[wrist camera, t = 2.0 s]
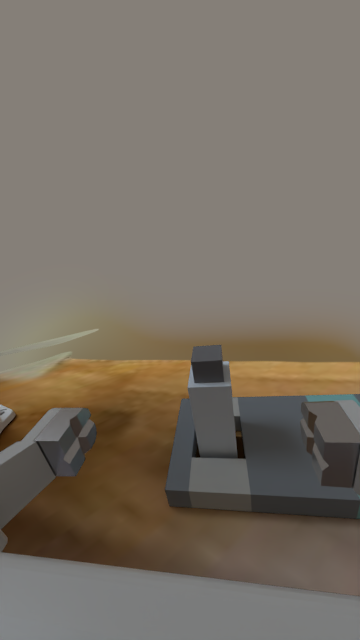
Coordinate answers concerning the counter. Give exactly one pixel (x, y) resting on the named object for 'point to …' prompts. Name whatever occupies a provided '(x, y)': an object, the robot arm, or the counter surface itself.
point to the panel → (257, 464)
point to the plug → (212, 403)
